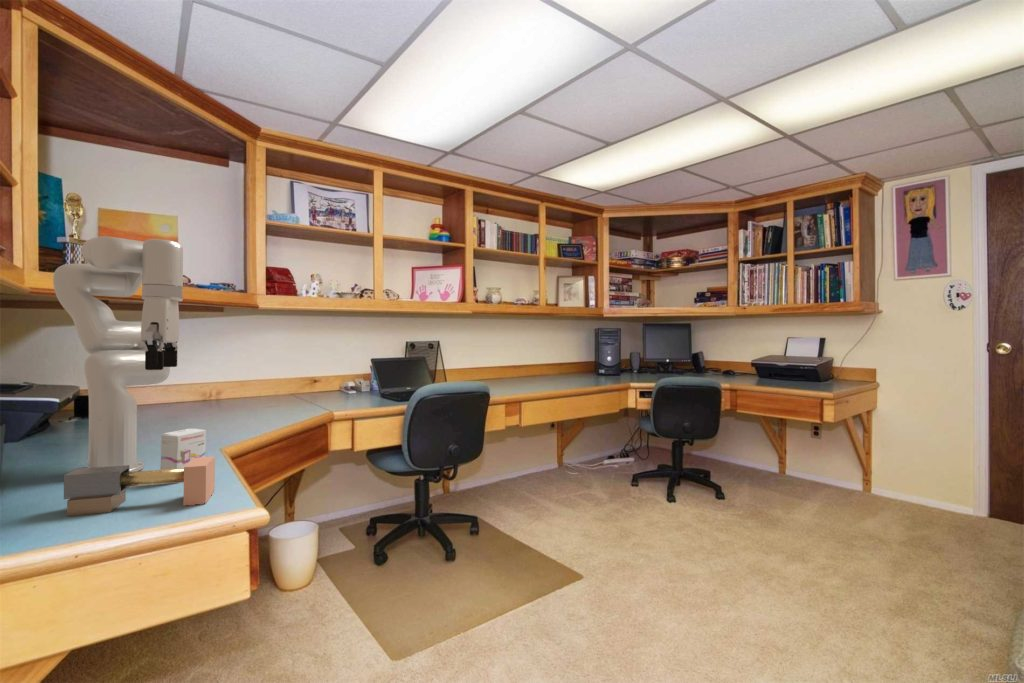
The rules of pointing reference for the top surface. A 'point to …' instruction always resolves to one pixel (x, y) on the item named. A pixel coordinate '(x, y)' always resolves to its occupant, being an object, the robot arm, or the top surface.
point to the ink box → (182, 447)
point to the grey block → (94, 490)
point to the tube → (152, 477)
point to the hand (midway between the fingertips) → (161, 368)
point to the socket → (199, 480)
